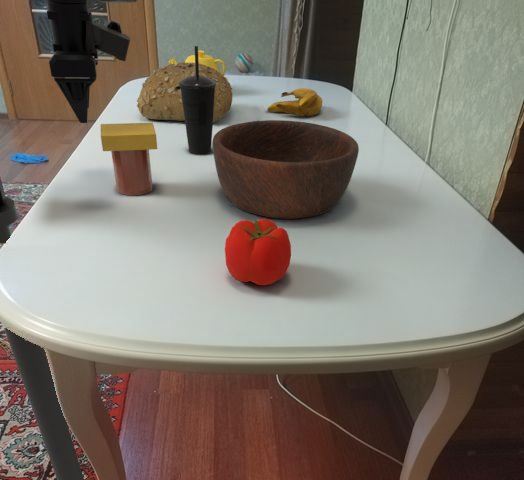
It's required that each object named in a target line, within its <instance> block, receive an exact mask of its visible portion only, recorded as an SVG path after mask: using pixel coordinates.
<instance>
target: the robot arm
mask: <svg viewBox="0 0 524 480" xmlns="http://www.w3.org/2000/svg"><path fill="white" fill-rule="evenodd" d="M96 1H97V3H126V4H129V3H130V4H135V3H136V2H137V0H96ZM46 6H47V10H46V16H47V20H49V23H50V29H51V34H52V40H53V42H52V49H53V52H54V53H53V54H52V56H51V57H50V59H49V61H48V64H49V69H50V75H51V77H52V78H53V80H54V82H55V83H56V85H57V86H58V88H59V89H60V91H61V92H62V94H63V96H64V97H65V99H66V101H67V102H68V104H69V106H70V109H72V111H73V113H74V115H75V116H76V118H77V120H78V122H79V123H80V124H87V123H88V111H89V110H88V109H90V92H91V91H90V90H91V86H92V85H93V84H94V83H96V80H97V74H98V73H97V66H98V64H99V60H98V59H99V52H98V51H101V52H103V53H105V54H108V55H110V56H113V57H115V58H116V60H119V61H122V62H126V60H127V55H128V53H129V52H128V51H129V46H130V42H131V38H130V36H128V34H126V33H123V32H122V27H121V24H120V23H118V22H117V21H114V20H112V19H111V20H110V21H109V22H108V23H107V24H106V25H104V24H102V23H99V22H96V21H93V13H92V11H90V8H89V3H88V0H46ZM4 188H5V187H4V184H3V182H2V179H1V177H0V212H1V210H2V207H3V205H4V203H5V201H6V197H7V196H6V193H5V189H4Z"/></svg>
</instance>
